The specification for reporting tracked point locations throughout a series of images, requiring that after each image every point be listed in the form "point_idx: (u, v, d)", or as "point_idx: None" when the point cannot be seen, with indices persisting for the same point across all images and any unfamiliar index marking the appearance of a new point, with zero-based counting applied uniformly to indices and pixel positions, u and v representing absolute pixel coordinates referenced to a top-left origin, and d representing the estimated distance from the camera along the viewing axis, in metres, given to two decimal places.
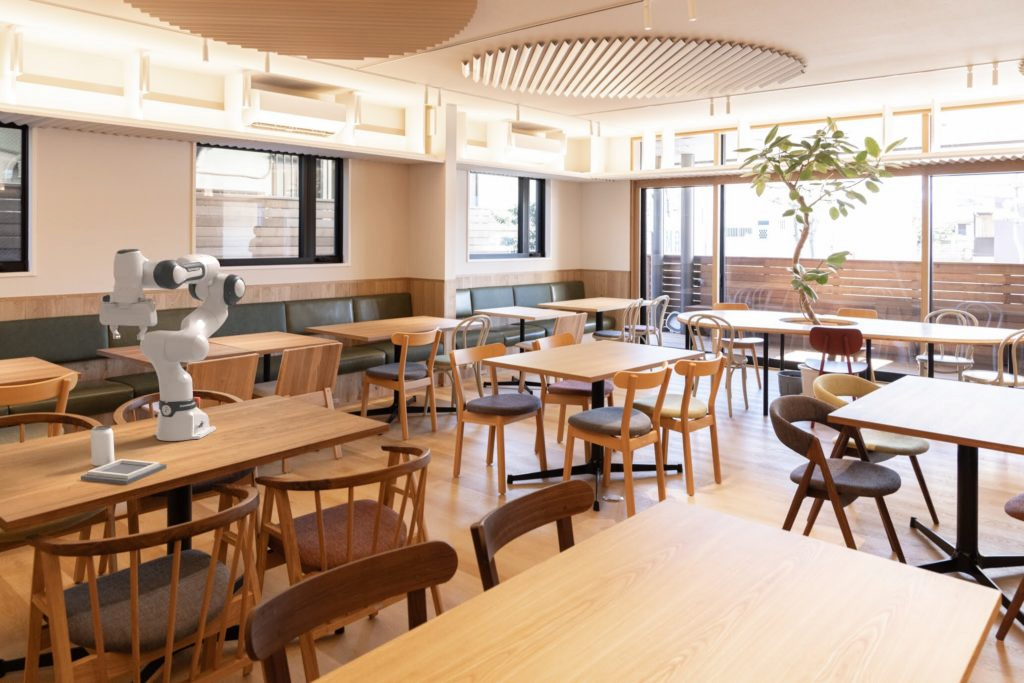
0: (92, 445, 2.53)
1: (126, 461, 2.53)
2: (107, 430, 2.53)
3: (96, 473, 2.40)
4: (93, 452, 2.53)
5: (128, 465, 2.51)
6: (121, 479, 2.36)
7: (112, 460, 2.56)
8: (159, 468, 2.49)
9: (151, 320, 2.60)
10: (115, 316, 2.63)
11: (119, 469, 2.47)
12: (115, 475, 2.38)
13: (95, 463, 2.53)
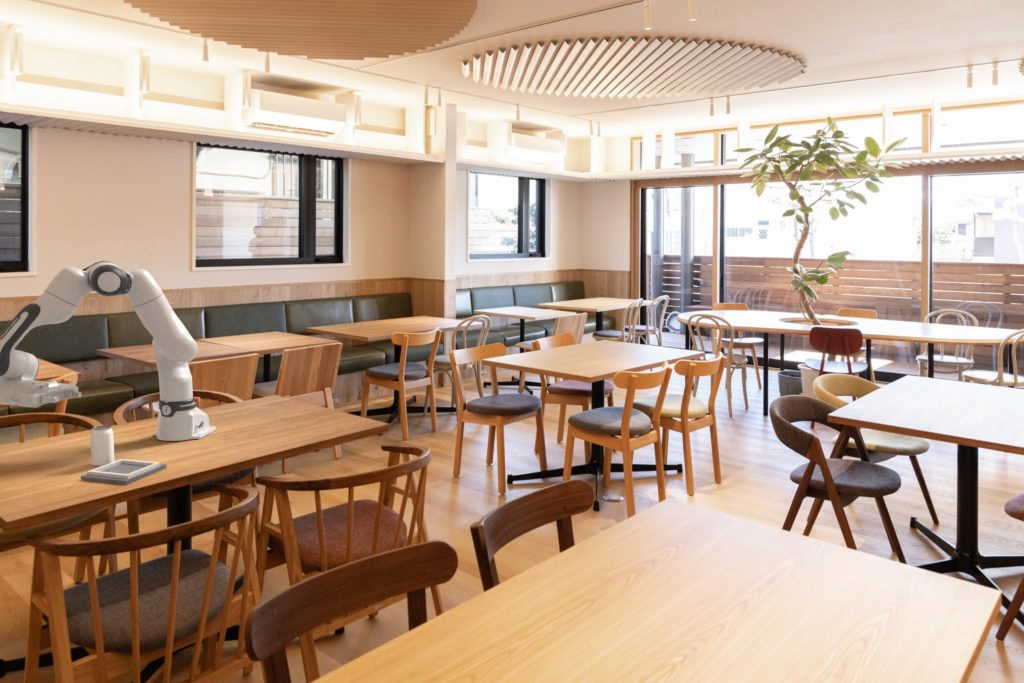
0: (92, 445, 2.53)
1: (126, 461, 2.53)
2: (107, 430, 2.53)
3: (96, 473, 2.40)
4: (93, 452, 2.53)
5: (128, 465, 2.51)
6: (121, 479, 2.36)
7: (112, 460, 2.56)
8: (159, 468, 2.49)
9: (25, 404, 2.48)
10: None
11: (119, 469, 2.47)
12: (115, 475, 2.38)
13: (95, 463, 2.53)
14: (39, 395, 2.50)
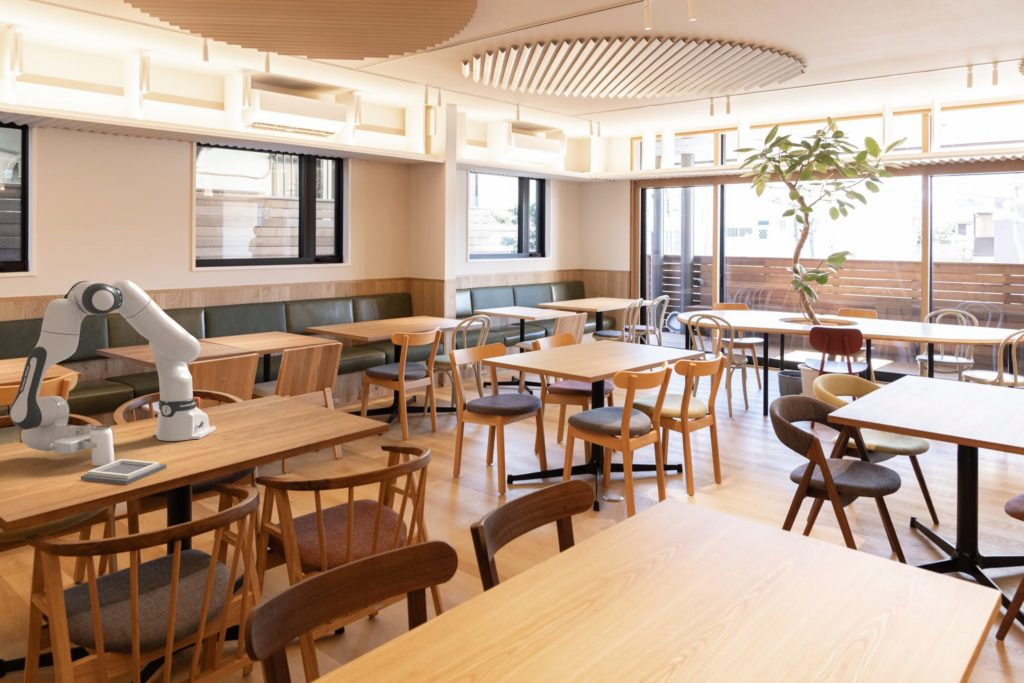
0: None
1: (126, 461, 2.53)
2: (106, 430, 2.53)
3: (96, 473, 2.40)
4: (93, 452, 2.52)
5: (128, 465, 2.51)
6: (121, 479, 2.36)
7: (112, 460, 2.55)
8: (159, 468, 2.49)
9: (63, 452, 2.47)
10: None
11: (119, 469, 2.47)
12: (115, 475, 2.38)
13: (95, 463, 2.53)
14: (76, 442, 2.50)
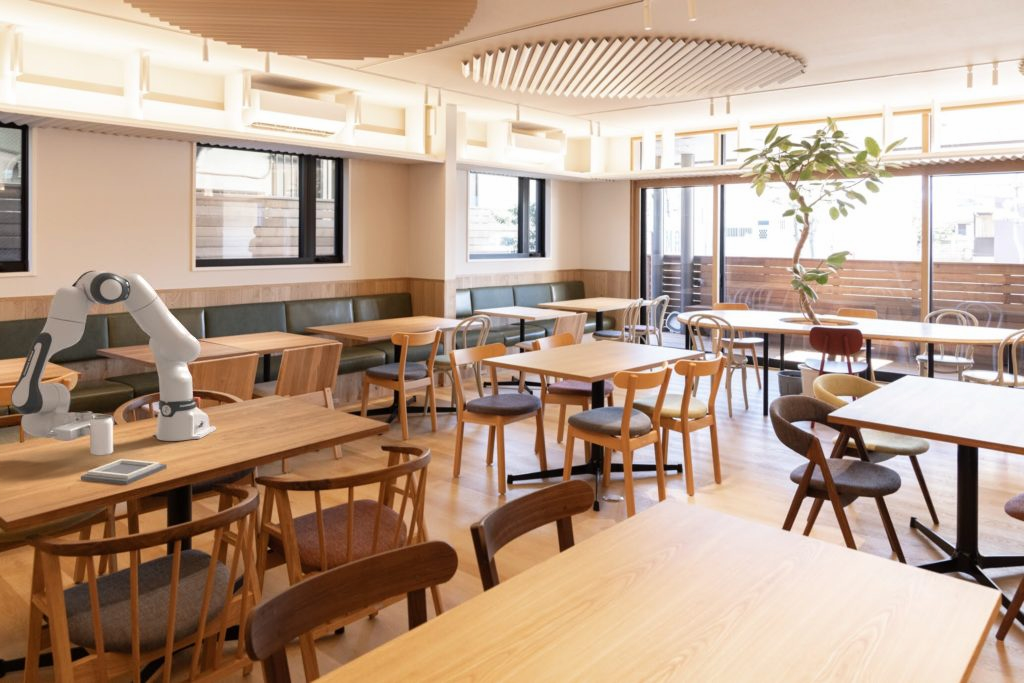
0: (92, 434, 2.52)
1: (126, 461, 2.53)
2: (107, 419, 2.53)
3: (96, 473, 2.40)
4: (93, 441, 2.52)
5: (128, 465, 2.51)
6: (121, 479, 2.36)
7: (111, 449, 2.55)
8: (159, 468, 2.49)
9: (63, 439, 2.47)
10: None
11: (119, 469, 2.47)
12: (115, 475, 2.38)
13: (94, 452, 2.52)
14: (76, 429, 2.49)
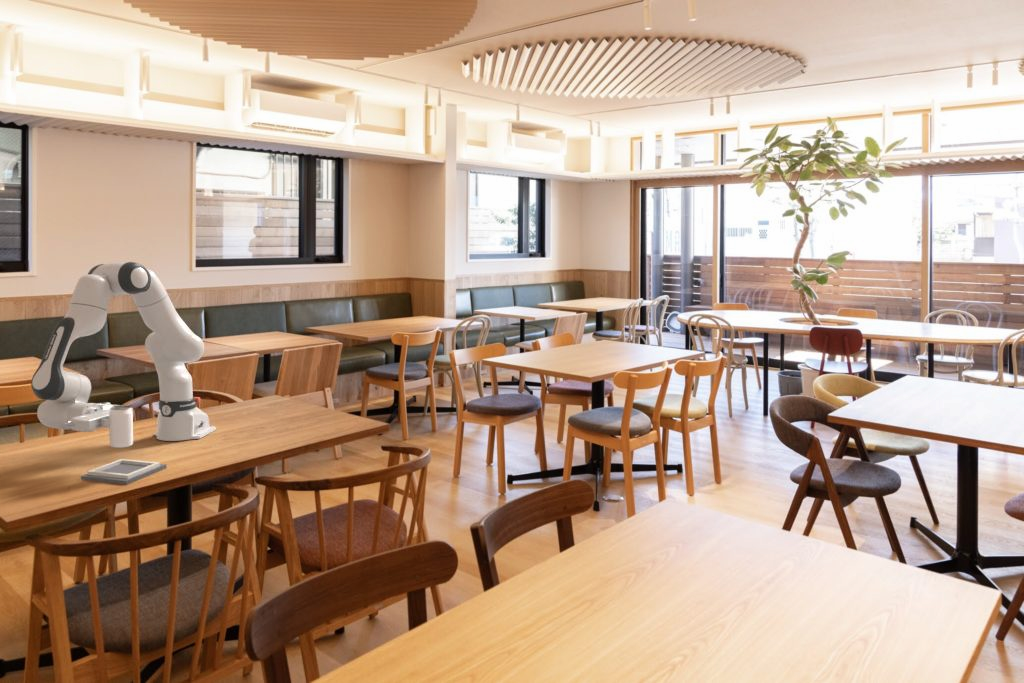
0: (111, 426, 2.41)
1: (126, 461, 2.53)
2: (127, 410, 2.42)
3: (96, 473, 2.40)
4: (112, 432, 2.41)
5: (128, 465, 2.51)
6: (121, 479, 2.36)
7: (131, 442, 2.44)
8: (159, 468, 2.49)
9: (81, 430, 2.36)
10: None
11: (119, 469, 2.47)
12: (115, 475, 2.38)
13: (114, 445, 2.41)
14: (95, 419, 2.38)
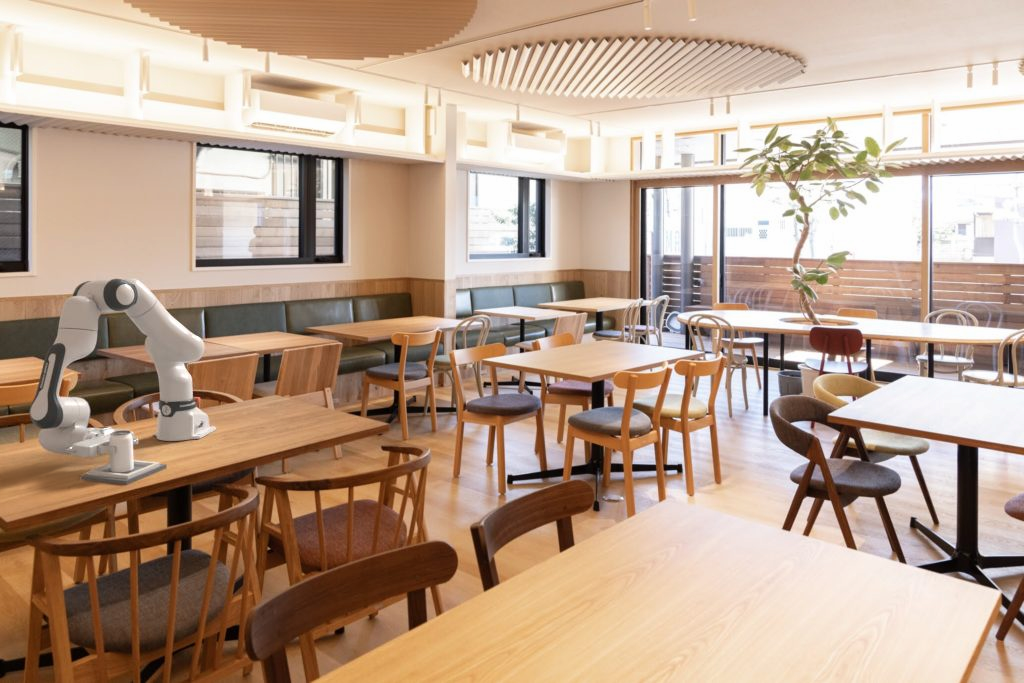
0: None
1: None
2: (127, 435, 2.43)
3: (96, 473, 2.40)
4: (113, 458, 2.42)
5: None
6: (121, 479, 2.36)
7: (132, 466, 2.45)
8: (159, 468, 2.49)
9: (83, 456, 2.37)
10: None
11: None
12: (115, 475, 2.38)
13: (114, 470, 2.42)
14: (96, 445, 2.39)
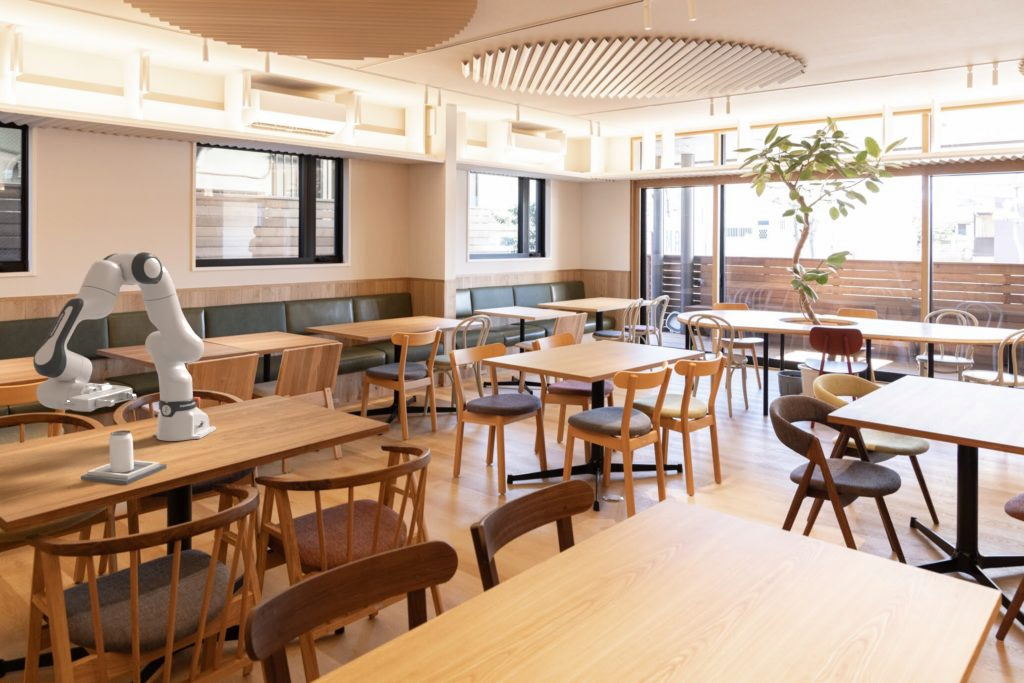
0: (111, 451, 2.42)
1: None
2: (127, 435, 2.43)
3: (96, 473, 2.40)
4: (113, 458, 2.42)
5: None
6: (121, 479, 2.36)
7: (132, 466, 2.45)
8: (159, 468, 2.49)
9: (80, 409, 2.35)
10: None
11: None
12: (115, 475, 2.38)
13: (114, 470, 2.42)
14: (94, 399, 2.37)
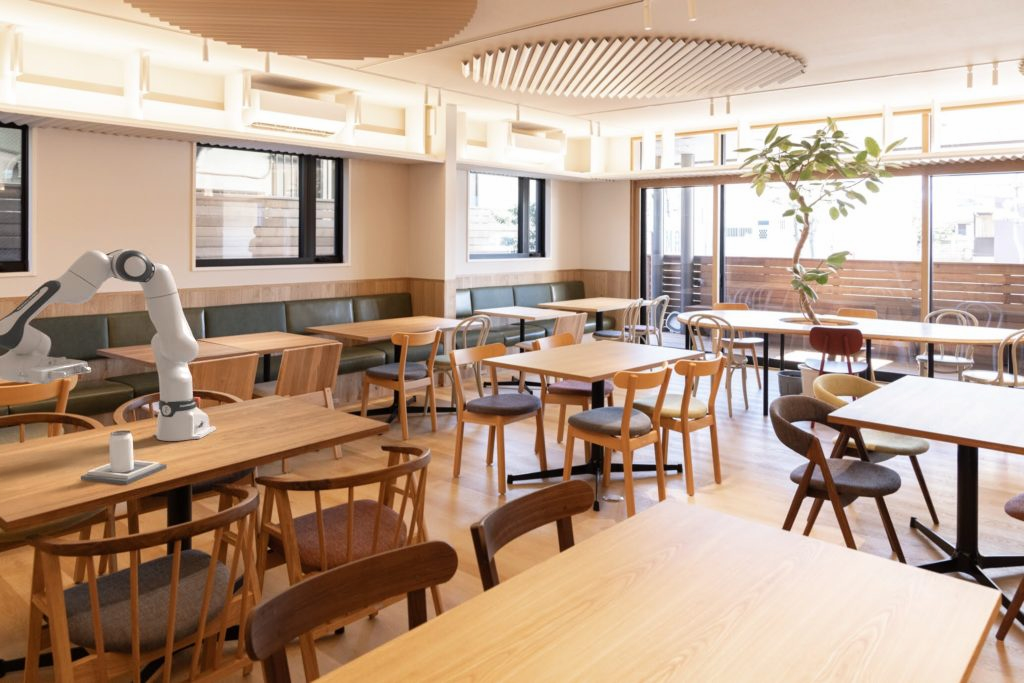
0: (111, 451, 2.42)
1: None
2: (127, 435, 2.43)
3: (96, 473, 2.40)
4: (113, 458, 2.42)
5: None
6: (121, 479, 2.36)
7: (132, 466, 2.45)
8: (159, 468, 2.49)
9: (34, 380, 2.43)
10: None
11: None
12: (115, 475, 2.38)
13: (114, 470, 2.42)
14: (48, 370, 2.45)
